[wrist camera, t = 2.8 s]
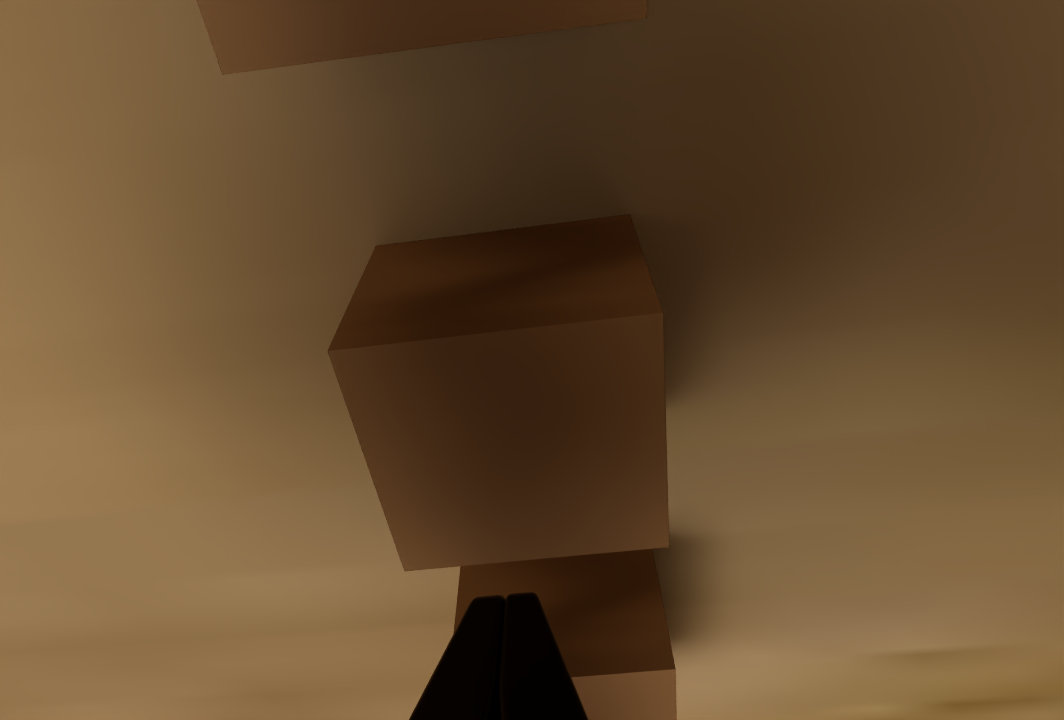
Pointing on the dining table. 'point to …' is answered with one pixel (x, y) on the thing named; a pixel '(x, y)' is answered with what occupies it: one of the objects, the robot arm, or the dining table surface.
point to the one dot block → (596, 626)
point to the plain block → (511, 393)
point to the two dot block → (383, 25)
